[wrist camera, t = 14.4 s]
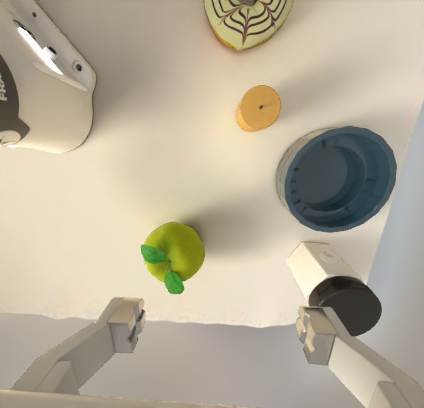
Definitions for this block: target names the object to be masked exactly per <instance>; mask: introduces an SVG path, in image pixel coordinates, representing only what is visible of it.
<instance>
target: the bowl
mask: <svg viewBox="0 0 424 408" xmlns="http://www.w3.org/2000/svg"><path fill="white" fill-rule="evenodd" d="M396 169H397V165H396V161H395V158H394V154H393V150H392V149H391V148H390V146H389V145H388V144H387V143H386V141H385V140H384V139H383V138H382V137H381V136H379V135H378V134H376V133H374V132H372V131H370V130H369V129H366V128H359V127H352V126H344V127H336V128H328V129H323V130H317V131H313V132H312V133H310V134H308V135H306V136H304V137H302V138H300V139H299V140H298V141H297V142H296V143H294V144H293V145H292V146H291V147H290V148H289V149H288V150H287V152H286V153H285V155H284V157H283V159H282V160H281V162H280V164H279V167H278V172H277V176H276V184H277V193H278V195H279V197H280V200H281V202H282V204H283V205H284V206H285V207H286V208H287V209H288V210H289V211H290V213H291V214H292V215H293V216H294V217H295V218H296V219H297V220H298V221H299V222H300V223H301V224H303V225H305V226H307V227H309V228H311V229H313V230H316V231H322V232H329V233H331V232H339V231H346V230H349V229H352V228H354V227H356V226H359V225H361V224H364V223H365V222H366V221H368V220H369V219H370V218H372V217H373V216H374V215H376V214H377V213H378V212H379V210H380V209H381V208H382V207H383V205H384V204H385V203H386V202H387V200H388V199H389V197H390V195H391V192H392V190H393V188H394V185H395V181H396Z"/></svg>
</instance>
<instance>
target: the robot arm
mask: <svg viewBox="0 0 424 408" xmlns="http://www.w3.org/2000/svg"><path fill="white" fill-rule="evenodd" d="M80 66H81V67H82V70H81V71H80V70H79V67H80ZM95 84H96V74H95V71H94V70H93V69H92V68H91V66H90V65H89V64H88V63H87V62H86V61H85V59H84V58H83V57H82V56H81V55H80V53H79V52H78V51H77V50H76V49H75V48H74V46H73V45H72V44H71V43H70V42H69V41H68V39H67V38H66V37H65V36H64V35H63V34H62V32H61V31H60V30H59V29H58V28H57V27H56V25H55V24H54V23H53V22H52V21H51V19H50V18H49V17H48V16H47V15H46V14H45V12H44V11H43V10H42V9H41V8H40V7H39V5H38V4H37V3H36V2H35V1H34V0H0V147H3V146H9V147H17V146H22V147H30V148H35V149H39V150H43V151H46V152H51V153H64V152H68V151H71V150H73V149H75V148H77V147H78V146H79V145H80V144H81V143H82V142H83V141H84V140H85V139H86V137H87V135H88V133H89V131H90V128H91V125H92V118H93V108H92V94H93V91H94V88H95ZM143 306H144V300H143V299H138V298H125V297H124V298H122V297H114V298H113V299H112V300H111V301H110V303H109V304H108V306H107V307H106V309H105V310H104V311H103V313H102V314H101V316H100V317H99V318H98V320H97V321H96V323H91V324H90V325H88V326H87V327H85V328H83V329H82V330H81V331H79V332H77V333H76V334H74V335H73V336H71V337H69V338H68V339H66V340H65V341H63V342H62V343H60V344H58V345H57V346H55V347H54V348H52V349H51V350H49V351H48V352H46V353H45V354H43V355H41V356H40V357H38V358H37V359H36V360H35V361H34V362H33V364H32V365H31V366H30V367H29V368H28V369H27V371H26V372H25V373H24V374H23V375H22V376H21V378H20V379H19V380H18V381H17V382H16V383H15V385H14V386H13V387H12V388H11V389H10V390H0V408H258V407H243V406H228V405H215V404H201V403H186V402H172V401H158V400H143V399H129V398H115V397H101V396H85V395H80V394H79V391H78V389H79V388H80V387H81V386H82V385H83V384H84V383H85V382H86V381H87V380H89V378H91V377H92V376H93V375H94V374H95V373H96V372H97V371H98V370H99V369H100V368H101V367H102V366H103V365H104V364H105V363H106V362H107V361H108V360H109V359H110V358H111V357H112V356H113V355H114V354H115V353H133V350H134V348H135V346H136V344H137V341H138V336H137V335H138V334H139V333H140V332H141V331H142V329H143V327H144V323H145V311H144V310H143ZM298 313H299V315H300V317H299V318H298V319H297V322H296V329H297V334H298V337H299V340H300V341H301V342H302V343H303V344H304V347H303V350H304V353H305V355H306V358H307V360H308V363H309V364H317V365H328V367H329V368H330V370H331V371H332V372H333V373H334V374H335V375H336V376H337V377H338V378H339V379H340V380H341V381H342V383H343V384H344V385H345V386H346V387H347V388H348V389H349V390H350V391H351V392H352V393H353V394H354V395H355V397H357V399H358V400H359V401H360V402H361V403H362V404H363V405H364V406H365V407H366V408H424V390H423V389H422V387H421V386H420V385H419V384H418V382H416V381H415V380H414V379H412V378H411V377H409V376H408V375H407V374H405V373H404V372H402V371H401V370H400V369H399V368H397V367H396V366H394V365H393V364H391V363H390V362H389V361H387V360H386V359H385V358H383V357H382V356H381V355H379V354H378V353H376V352H375V351H373V350H372V349H371V348H369V347H368V346H366V345H365V344H364V343H362V342H361V341H360V340H358V339H357V338H356V337H353V336H351V335H350V334H349V332H348V331H347V329H346V328H345V326H344V325H343V323H342V322H341V321H340V319H339V318H338V316H337V315H336V313H335V312H334V310H333V309H332V308H331V307H309V306H300V307H299V310H298Z"/></svg>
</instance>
